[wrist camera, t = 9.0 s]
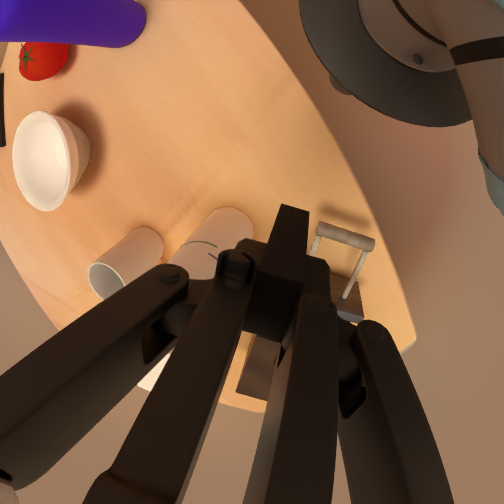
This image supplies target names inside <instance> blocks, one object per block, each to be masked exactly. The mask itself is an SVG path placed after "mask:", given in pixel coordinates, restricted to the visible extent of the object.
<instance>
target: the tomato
mask: <svg viewBox="0 0 504 504" xmlns="http://www.w3.org/2000/svg"><path fill="white" fill-rule="evenodd" d="M21 46H22V44H21ZM19 58H20V63H19V64H20V65H19V71H20V73H21V75H22V76H23V77H25V78H26V79H28V80H31V81H40V80H44V79H47V78H50V77H52V76H54V75H55V74H57V73H58V72H59V71H60V70H61V69H62V67H63V66H64V65H65V63H66V61H67V58H68V44H65V43H47V42H26V43H25V45H24V46H22V48H21V51H20V55H19Z"/></svg>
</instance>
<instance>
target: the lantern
mask: <svg viewBox="0 0 504 504" xmlns="http://www.w3.org/2000/svg"><path fill="white" fill-rule="evenodd" d="M3 84H4V73H1V74H0V147H3V146H6V140H5V128H4V106H3Z"/></svg>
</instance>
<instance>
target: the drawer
mask: <svg viewBox="0 0 504 504" xmlns="http://www.w3.org/2000/svg"><path fill="white" fill-rule="evenodd" d="M315 234H316V236H315V238H314V241H313V244H312V247H311V249H310V252H309V255H310V256H313V257H314V255H315V252H316V249H317V247H318V244H319V241H320V239H321V236H322V237H325V238H328V239H332V240H335V241H338V242H341V243H344V244H347V245H350V246H353V247H356V248H359V249H362V250H363V251H362V253H361V256H360V258H359V260H358V262H357V264H356V267H355V269H354V271H353V273H352V275H351V277H350V279H349V280H348V279H345V278H342V277H338V276H335V275H332V274H330V287H331V300H332V301H333V303H334V304H335V305H336V308H337V314H338V316H340V317H341V318H342V319H344V320H345V321H347V322H349V323H350V321H351V322H355V323H359V322H361V321H362V320H363V318H364V313H363V307H362V301H361V296H360V290H359V285H358V282H355V280H356V278H357V276H358V274H359V272H360V269H361V267H362V265H363V263H364V261H365V259H366V257H367V255H368V252H372V250H373V249H374V246H375V239H373V238H370V237H367V236H364V235H361V234H358V233H355V232H352V231H349V230H346V229H343V228H340V227H337V226H334V225H331V224H328V223H325V222H322V221H319V222H318V223H317V226H316V230H315ZM282 340H283V337H282Z"/></svg>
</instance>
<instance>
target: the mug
mask: <svg viewBox="0 0 504 504" xmlns="http://www.w3.org/2000/svg"><path fill="white" fill-rule="evenodd" d="M163 253H164V244H163V241H162V239H161V237H160V236H159V235H158V233H157V232H155V231H154V230H152V229H150V228H148V227H140V228H138V229H136V230H135V231H133V232H132V233H130V234H129V235H128V236H126V237H125V238H124V239H122V240H121V241H120V242H118V243H117V244H116V245H115V246H113V247H112V248H111V249H109V250H108V251H107V252H106V253H104V254H103V255H102V256H101V257H99V258H98V259H97V260H96V261H95V262H94V263H92V264H91V265H90V266H89V268H88V280H89V283H90V285H91V287H92V288H93V290H94V291H95V293H96V294H97V295H98V296H99V297H100V298H101V299H103V300H105V299H107V298H108V297H110V296H111V295H112V294H114V293H115V292H117V291H118V290H120V289H121V288H123V287H124V286H126V285H127V284H129V283H130V282H132V281H133V280H135V279H136V278H138V277H139V276H141V275H142V274H144V273H145V272H147V271H148V270H150V269H152V268H153V267H155V266H156V264H157V262H158V261H159V260H160V258H161V257H162V256H163Z"/></svg>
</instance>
